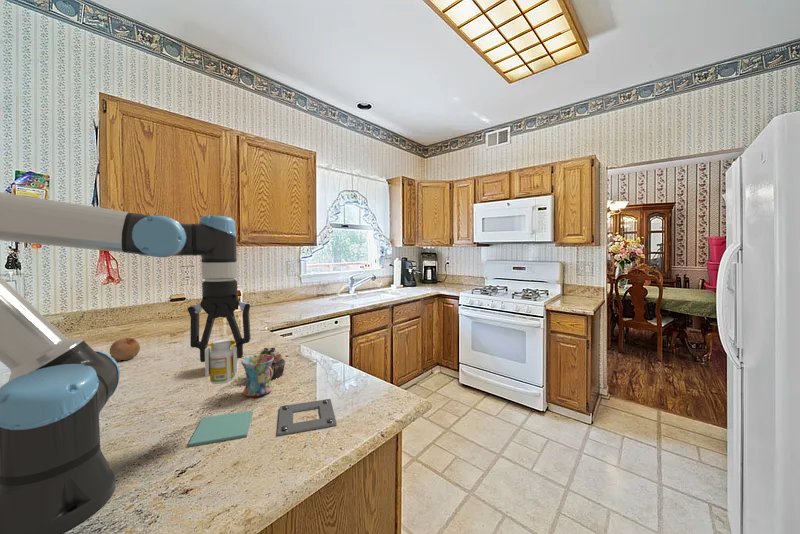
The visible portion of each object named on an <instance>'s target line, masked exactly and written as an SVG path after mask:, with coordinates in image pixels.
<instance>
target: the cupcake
mask: <svg viewBox="0 0 800 534" xmlns="http://www.w3.org/2000/svg"><path fill="white" fill-rule="evenodd" d="M259 355H271V356H273V357H274V360H273V362H272V365H271V368H272V370H273V376H272V379H274V380H277V379H279V377H280V376H281V377H283V375H284V370H285V364H286V360H285V359H284V358H283V355H282V353H281V352H279V351H278V350H277V349H276V347H271V348H267V347H265V348H263V349H262V350H261V352H260V353H259ZM270 375H271V371H270ZM281 377H280V378H281ZM276 378H277V379H276ZM272 379H271V380H270V381H273V380H272Z"/></svg>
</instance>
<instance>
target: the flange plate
mask: <svg viewBox="0 0 800 534" xmlns="http://www.w3.org/2000/svg"><path fill="white" fill-rule="evenodd" d="M316 409H317V410H318V409H319V414H320V418H316V419H312V420H311V419H310V420H304V421H298V422H294V413H297V412H302V411H303V412H304V411H309V410H316ZM334 411H335V410H334V407H333V405H332V399H331V398H326V399H320V400H313V401H307V402H300V403H299V402H298V403H293V404H287V405H285V404H284V405H280V406H279V415H278V416H279V417H278V425H277V436H278V437H279V436H283V435H289V434H294V433H301V432H306V431H312V430H318V429H323V428H324V429H325V428H330V427H336V426H337V419H336V415H335V412H334Z"/></svg>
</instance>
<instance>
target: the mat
mask: <svg viewBox="0 0 800 534" xmlns="http://www.w3.org/2000/svg"><path fill="white" fill-rule="evenodd" d="M253 413H254V410H252V409H251V410H246V411H239V412H238V411H237V412H231V413H226V414H225V413H224V414H219V415H212V416H205V417H202V419H201V420H200V422H199V424H198V426H197V427H196V429H195V431H194V433H193V435H192V437H191V439H190V440H189V442H188V447H194V446H199V445H200V446H202V445H206V444H213V443H217V442H223V441H224V442H225V441H229V440H235V439H240V438H246V437H247V436H248V433H249V429H250V426H251V423H252V422H251V421H252V418H253Z"/></svg>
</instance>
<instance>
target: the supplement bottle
mask: <svg viewBox="0 0 800 534" xmlns="http://www.w3.org/2000/svg"><path fill="white" fill-rule="evenodd" d="M231 340H232V339H220V340H216V341H212V342H213V349H214V350H213V351H212V352H211V353H210V375H209V377H210V378H209V380H210V383H211V384H213V385H222V384H227V383H230V382H232V381H233V380H234V379H235V378H236V373H234V367H233V349H232V348H230V347H231Z"/></svg>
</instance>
